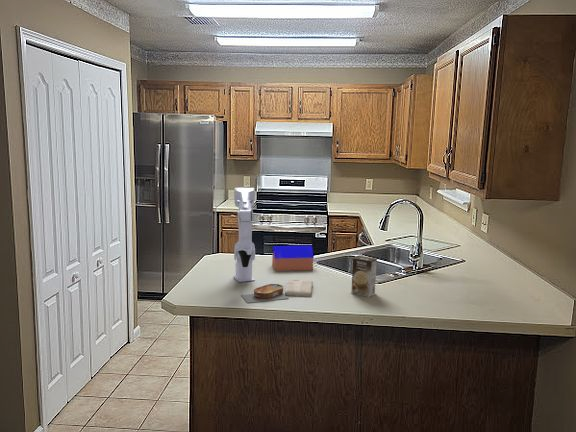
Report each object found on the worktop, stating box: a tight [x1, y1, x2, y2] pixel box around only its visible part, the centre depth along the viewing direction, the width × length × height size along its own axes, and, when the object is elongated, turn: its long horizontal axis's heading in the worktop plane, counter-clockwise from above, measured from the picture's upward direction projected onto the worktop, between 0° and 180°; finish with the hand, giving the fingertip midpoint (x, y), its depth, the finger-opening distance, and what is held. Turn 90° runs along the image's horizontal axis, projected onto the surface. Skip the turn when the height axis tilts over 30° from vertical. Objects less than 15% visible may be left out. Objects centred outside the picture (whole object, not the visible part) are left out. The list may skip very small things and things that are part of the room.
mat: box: [240, 292, 289, 304], centre depth 218 cm, size 10×18×1 cm, turn 111°
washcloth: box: [284, 279, 314, 297], centre depth 229 cm, size 12×18×3 cm, turn 177°
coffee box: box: [350, 254, 378, 298], centre depth 225 cm, size 9×6×16 cm
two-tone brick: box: [271, 244, 315, 272], centre depth 265 cm, size 12×20×12 cm, turn 100°
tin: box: [253, 283, 284, 299], centre depth 221 cm, size 15×3×8 cm
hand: (245, 266), depth 227 cm, fingers closed
